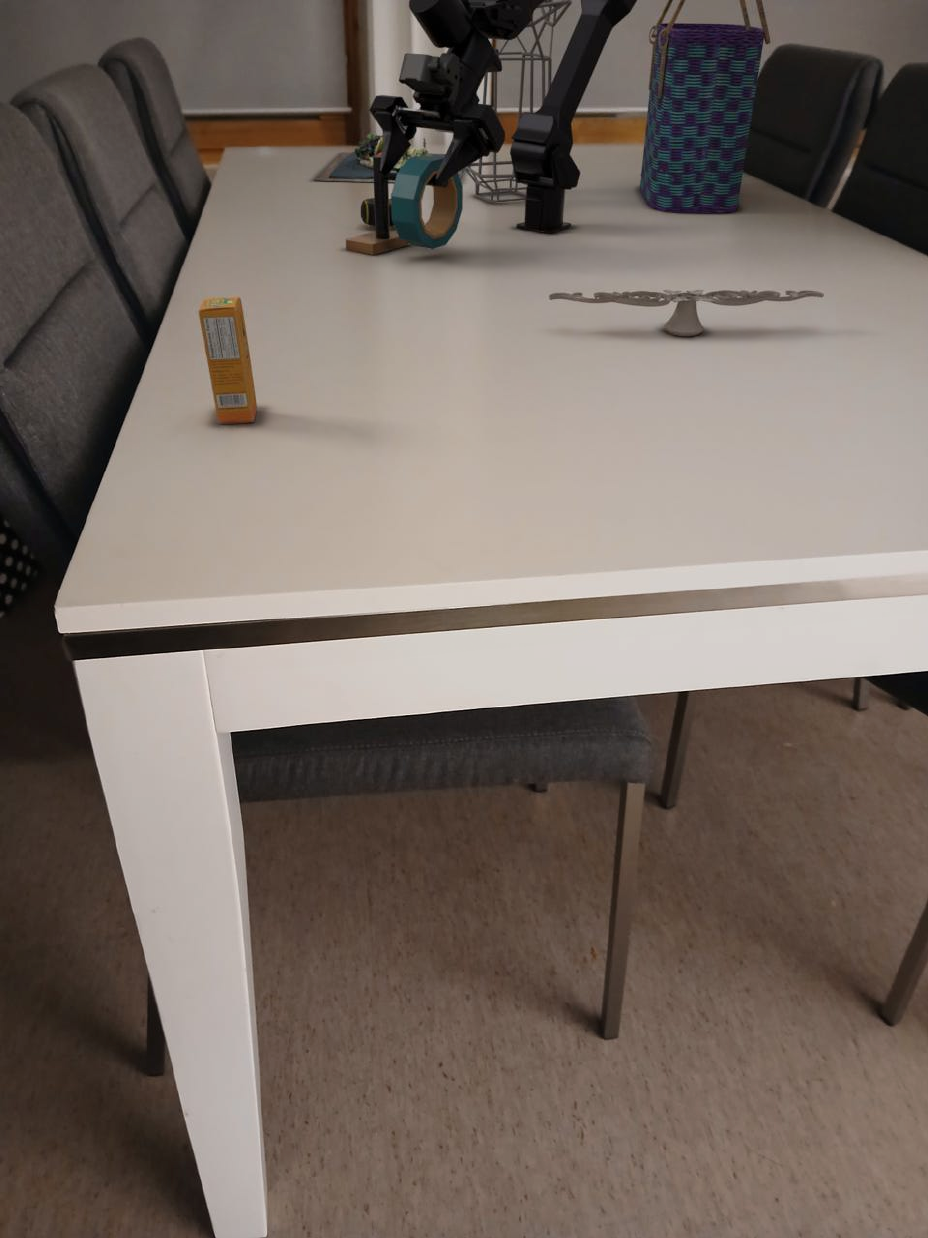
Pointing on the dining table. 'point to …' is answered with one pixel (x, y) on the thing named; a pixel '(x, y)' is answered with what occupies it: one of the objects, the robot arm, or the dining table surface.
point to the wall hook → (686, 303)
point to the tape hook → (387, 197)
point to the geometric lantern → (548, 3)
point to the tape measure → (372, 212)
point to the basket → (700, 112)
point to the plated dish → (366, 162)
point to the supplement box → (228, 359)
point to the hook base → (374, 243)
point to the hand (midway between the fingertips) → (409, 178)
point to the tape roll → (410, 204)
